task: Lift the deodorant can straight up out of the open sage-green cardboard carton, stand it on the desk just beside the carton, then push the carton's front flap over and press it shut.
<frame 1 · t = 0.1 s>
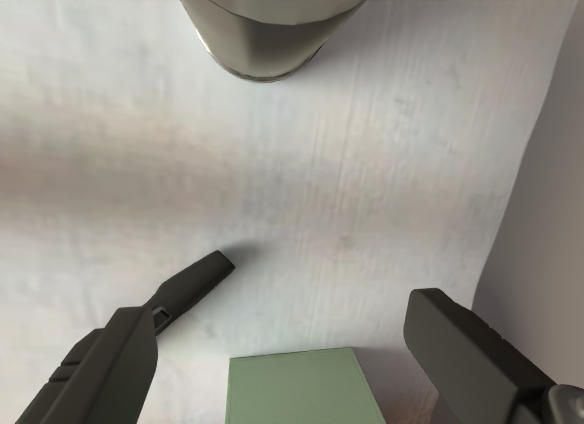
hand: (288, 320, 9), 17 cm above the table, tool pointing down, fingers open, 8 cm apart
carton: (290, 401, 34), on the table
electric trimmer: (167, 296, 27), on the table
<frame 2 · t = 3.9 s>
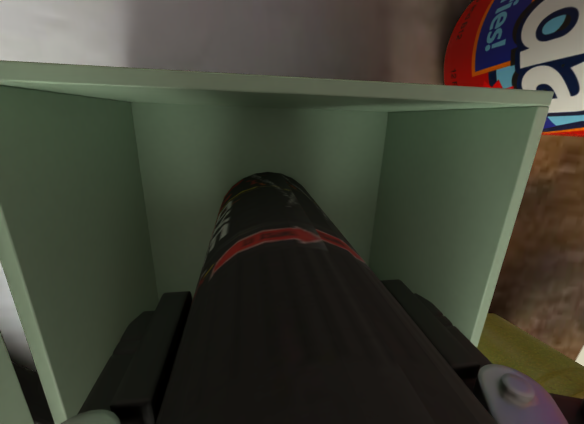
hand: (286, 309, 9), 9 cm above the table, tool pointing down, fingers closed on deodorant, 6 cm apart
carton: (267, 217, 18), on the table
soda can: (490, 63, 17), on the table
deodorant: (267, 218, 17), resting on carton, touching gripper
electric trimmer: (44, 390, 19), on the table
plant pot: (469, 337, 24), on the table
when the fingers open (9 cm above the table, at t = 10.5 s): deodorant stays where it is, on the table.
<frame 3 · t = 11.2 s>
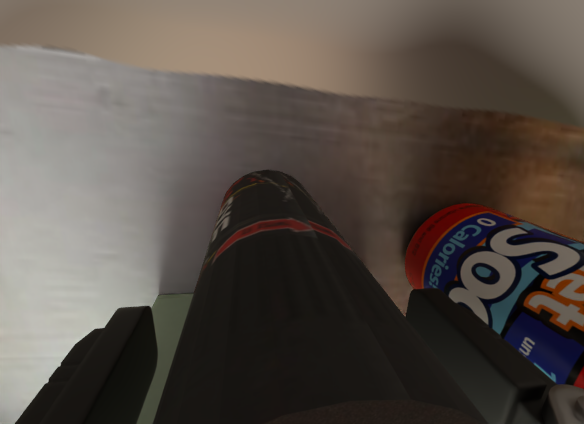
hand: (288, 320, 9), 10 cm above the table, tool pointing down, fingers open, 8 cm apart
carton: (267, 363, 22), on the table
soda can: (444, 247, 21), on the table
deodorant: (267, 214, 18), on the table
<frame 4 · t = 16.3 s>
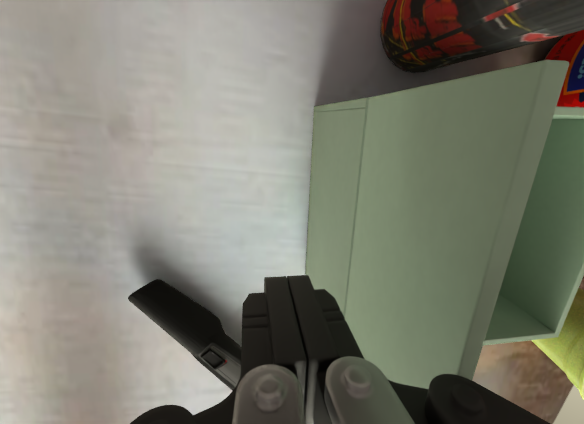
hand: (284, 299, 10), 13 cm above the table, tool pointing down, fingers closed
carton: (394, 197, 24), on the table
soda can: (564, 82, 23), on the table
flap: (387, 306, 9), point 14 cm above the table, hinge at 94.2°, touching gripper
deodorant: (418, 26, 20), on the table
electric trimmer: (212, 333, 25), on the table
plant pot: (529, 297, 30), on the table
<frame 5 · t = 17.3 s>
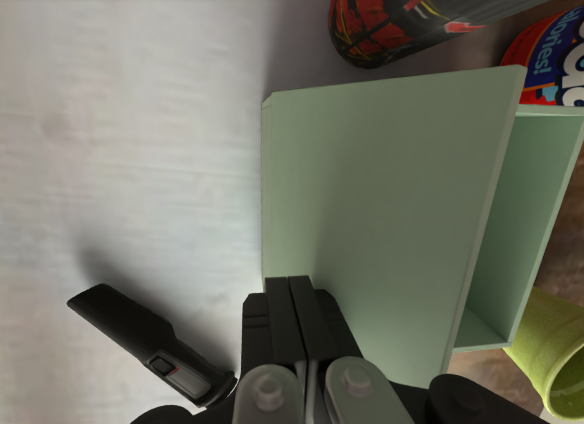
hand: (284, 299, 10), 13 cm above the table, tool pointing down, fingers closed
carton: (353, 198, 23), on the table
soda can: (528, 79, 22), on the table
flap: (331, 308, 9), point 13 cm above the table, hinge at 63.1°, touching gripper
deodorant: (369, 20, 19), on the table
electric trimmer: (167, 338, 24), on the table
plant pot: (501, 302, 29), on the table
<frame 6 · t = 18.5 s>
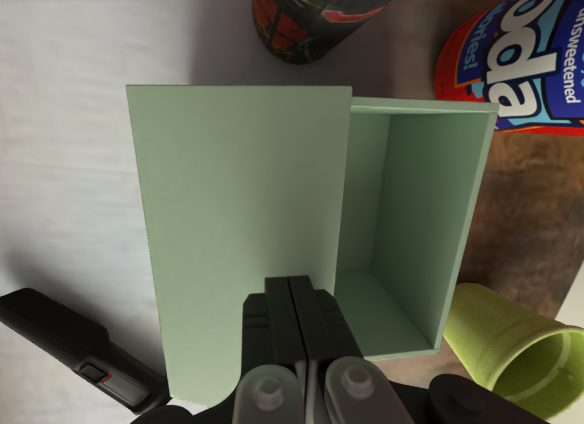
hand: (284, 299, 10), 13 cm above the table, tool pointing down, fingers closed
carton: (293, 199, 22), on the table
soda can: (472, 76, 21), on the table
flap: (237, 282, 11), point 11 cm above the table, hinge at 22.7°, touching gripper
deodorant: (298, 14, 18), on the table
electric trimmer: (106, 343, 24), on the table
plant pot: (458, 305, 28), on the table
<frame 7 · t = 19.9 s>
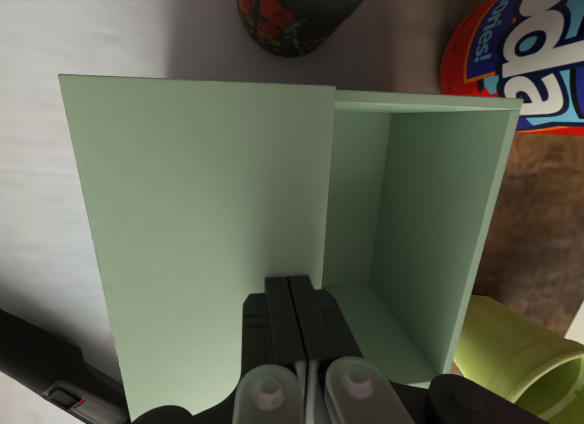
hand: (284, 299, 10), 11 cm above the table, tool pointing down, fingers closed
carton: (284, 206, 20), on the table
soda can: (481, 70, 19), on the table
flap: (217, 295, 10), point 10 cm above the table, hinge at 4.3°, touching gripper
deodorant: (288, 1, 16), on the table
electric trimmer: (81, 363, 22), on the table
plant pot: (464, 318, 26), on the table
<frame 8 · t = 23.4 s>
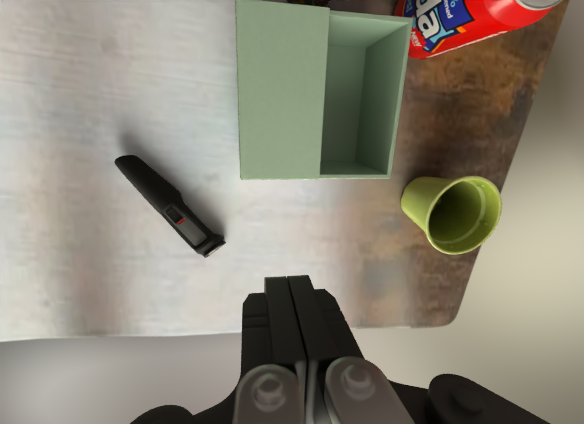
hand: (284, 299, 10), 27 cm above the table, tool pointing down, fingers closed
carton: (303, 105, 33), on the table
soda can: (419, 23, 33), on the table
flap: (282, 99, 24), point 10 cm above the table, hinge at -1.2°
electric trimmer: (177, 207, 35), on the table
plant pot: (419, 196, 40), on the table
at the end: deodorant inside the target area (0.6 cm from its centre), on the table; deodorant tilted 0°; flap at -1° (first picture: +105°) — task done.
